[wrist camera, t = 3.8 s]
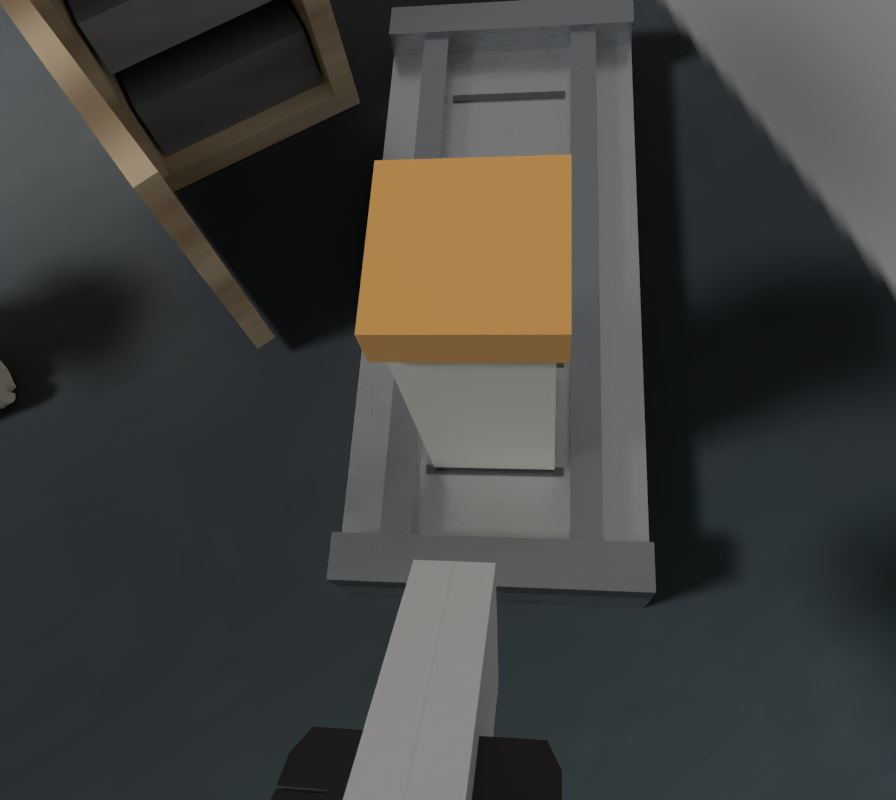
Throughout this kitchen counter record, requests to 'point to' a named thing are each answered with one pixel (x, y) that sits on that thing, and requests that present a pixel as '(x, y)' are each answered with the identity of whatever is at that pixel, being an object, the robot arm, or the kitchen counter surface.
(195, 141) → the wooden cabinet
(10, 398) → the sitting furry creature
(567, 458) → the fader track
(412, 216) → the fader knob
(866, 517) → the kitchen counter surface
